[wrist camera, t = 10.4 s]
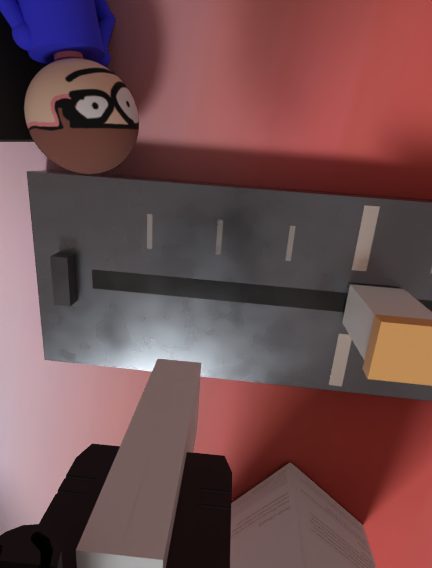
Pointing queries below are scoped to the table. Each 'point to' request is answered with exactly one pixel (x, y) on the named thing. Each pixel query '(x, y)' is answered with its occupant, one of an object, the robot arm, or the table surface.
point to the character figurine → (64, 84)
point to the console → (220, 275)
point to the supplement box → (295, 527)
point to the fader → (390, 334)
